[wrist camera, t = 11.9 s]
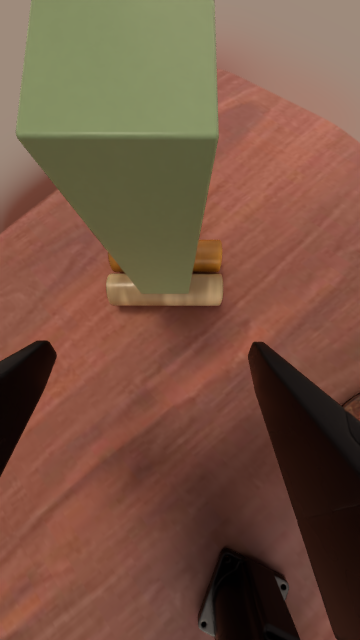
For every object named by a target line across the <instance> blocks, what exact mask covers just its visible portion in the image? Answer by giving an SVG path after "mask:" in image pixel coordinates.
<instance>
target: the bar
mask: <svg viewBox="0 0 360 640" xmlns="http://www.w3.org/2000/svg"><path fill="white" fill-rule="evenodd" d="M214 3H215V2H214V0H31V7H30V16H29V24H28V32H27V41H26V50H25V58H24V66H23V75H22V83H21V91H20V100H19V109H18V117H17V126H16V136H17V138H18V139H19V141H20V142H21V143H22V144H23V146H24V147H25V148H26V149H27V151H28V152H29V153H30V154H31V156H32V157H33V158H34V159H35V161H36V162H37V163H38V165H39V166H40V167H41V168H42V169H43V171H44V172H45V173H46V175H47V176H48V177H49V178H50V180H51V181H52V182H53V183H54V185H55V186H56V187H57V188H58V190H59V191H60V192H61V193H62V195H63V196H64V197H65V198H66V200H67V201H68V202H69V203H70V205H71V206H72V207H73V208H74V210H75V211H76V212H77V213H78V215H79V216H80V217H81V218H82V220H83V221H84V222H85V223H86V225H87V226H88V227H89V228H90V230H91V231H92V232H93V234H94V235H95V236H96V237H97V239H98V240H99V241H100V242H101V244H102V245H103V246H104V247H105V249H106V250H107V251H108V252H109V254H110V255H111V256H112V257H113V259H114V260H115V261H116V262H117V264H118V265H119V266H120V267H121V269H122V270H123V271H124V272H125V274H126V275H127V276H128V277H129V279H130V280H131V281H132V282H133V284H134V285H135V286H136V287H137V289H138V290H139V291H140V292H141V294H188V293H189V288H190V282H191V277H192V272H193V267H194V262H195V257H196V251H197V246H198V241H199V236H200V231H201V226H202V220H203V215H204V210H205V205H206V200H207V195H208V189H209V184H210V179H211V174H212V169H213V164H214V158H215V153H216V148H217V143H218V138H219V131H218V98H217V68H216V34H215V4H214Z"/></svg>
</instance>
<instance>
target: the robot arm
mask: <svg viewBox="0 0 360 640" xmlns="http://www.w3.org/2000/svg"><path fill="white" fill-rule="evenodd" d="M56 357H57V354H56V352H55V350H54V348H53V347H52V345H51V344H50V342H49V341H36V342H34V343H32V344H30V345H28V346H27V347H25V348H23V349H21V350H20V351H18V352H16V353H14V354H12V355H11V356H9V357H7V358H5V359H4V360H2V361H0V476H1V474H2V472H3V470H4V469H5V467H6V465H7V463H8V461H9V459H10V457H11V455H12V453H13V451H14V449H15V447H16V445H17V443H18V441H19V439H20V437H21V435H22V433H23V431H24V429H25V427H26V425H27V423H28V421H29V419H30V417H31V415H32V413H33V411H34V409H35V407H36V405H37V403H38V401H39V399H40V397H41V395H42V393H43V391H44V389H45V386H46V384H47V381H48V378H49V376H50V373H51V371H52V368H53V365H54V363H55V360H56ZM248 360H249V365H250V370H251V375H252V380H253V385H254V389H255V393H256V396H257V399H258V402H259V405H260V409H261V412H262V415H263V418H264V421H265V424H266V427H267V430H268V433H269V436H270V439H271V442H272V445H273V448H274V451H275V455H276V458H277V461H278V464H279V467H280V470H281V473H282V476H283V479H284V482H285V485H286V488H287V491H288V494H289V498H290V501H291V504H292V507H293V510H294V513H295V516H296V519H297V523H298V526H299V529H300V532H301V535H302V538H303V541H304V544H305V547H306V550H307V553H308V556H309V559H310V562H311V565H312V569H313V572H314V575H315V578H316V581H317V584H318V587H319V590H320V593H321V596H322V599H323V602H324V605H325V608H326V612H327V615H328V618H329V621H330V624H331V627H332V630H333V632H334V635H335V638H336V639H337V640H360V421H359V420H358V419H357V418H356V417H354V416H353V415H352V414H351V413H349V412H348V411H345V409H344V408H343V407H342V406H341V405H340V404H338V403H337V402H336V401H335V400H333V399H332V398H331V397H330V396H329V395H327V394H326V393H325V392H324V391H322V390H321V389H320V388H319V387H318V386H316V385H315V384H314V383H313V382H311V381H310V380H309V379H308V378H307V377H305V376H304V375H303V374H302V373H301V372H299V371H298V370H297V369H296V368H294V367H293V366H292V365H291V364H290V363H288V362H287V361H286V360H285V359H283V358H282V357H281V356H280V355H279V354H277V353H276V352H275V351H274V350H272V349H271V348H270V347H269V346H268V345H266V344H265V343H264V342H253V343H252V345H251V348H250V351H249V354H248ZM226 556H228V557H226ZM288 590H289V585H288V583H287V580H286V578H285V577H284V576H283V575H281V574H279V573H277V572H275V571H273V570H271V569H269V568H267V567H265V566H262V565H260V564H258V563H256V562H254V561H252V560H250V559H248V558H246V557H244V556H242V555H240V554H238V553H236V552H234V551H232V550H230V549H228V548H224V549H223V550H222V551H221V554H220V557H219V559H218V562H217V565H216V568H215V570H214V573H213V576H212V579H211V581H210V584H209V587H208V590H207V592H206V595H205V598H204V600H203V603H202V606H201V609H200V611H199V614H198V626H199V628H200V630H202V631H204V632H205V633H207V634H209V635H211V636H213V637H215V640H300V637H299V635H298V633H297V630H296V628H295V625H294V623H293V620H292V618H291V615H290V613H289V610H288V608H287V605H286V603H285V599H286V596H287V593H288Z"/></svg>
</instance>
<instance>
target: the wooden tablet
mask: <svg viewBox="0 0 360 640" xmlns="http://www.w3.org/2000/svg"><path fill="white" fill-rule="evenodd" d="M343 408H344V409H345V411H348V412H349V413H351V414H352V415H353V416H354V417H356V418H357V419H358V420H359V421H360V394H359V395H357V396H355V397H353V398H352V399H351V400H350V401H348V402H347V403H346V404H345V405H344V406H343Z"/></svg>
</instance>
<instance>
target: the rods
mask: <svg viewBox="0 0 360 640" xmlns="http://www.w3.org/2000/svg"><path fill="white" fill-rule="evenodd" d="M108 257H109V262H110V266H111V268H112V270H113V271H114V272H124V271H123V270H122V269H121V267H120V266H119V265H118V264H117V262H116V261H115V260H114V259H113V257H112V256H111V255H110V254H109V252H108ZM221 261H222V243H221V241H220V240H199V241H198V246H197V251H196V257H195V262H194V267H193V272H218V271H219V269H220V266H221ZM106 292H107V297H108V300H109V302H110V304H111V305H139V306H219V305H220V304H221V301H222V297H223V279H222V275H221V274H192V277H191V282H190V288H189V293H188V294H141V292H140V291H139V290H138V289H137V287H136V286H135V285H134V284H133V282H132V281H131V280H130V279H129V277H128V276H127V275H126V274H110V275H109V276H108V278H107V282H106Z"/></svg>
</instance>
